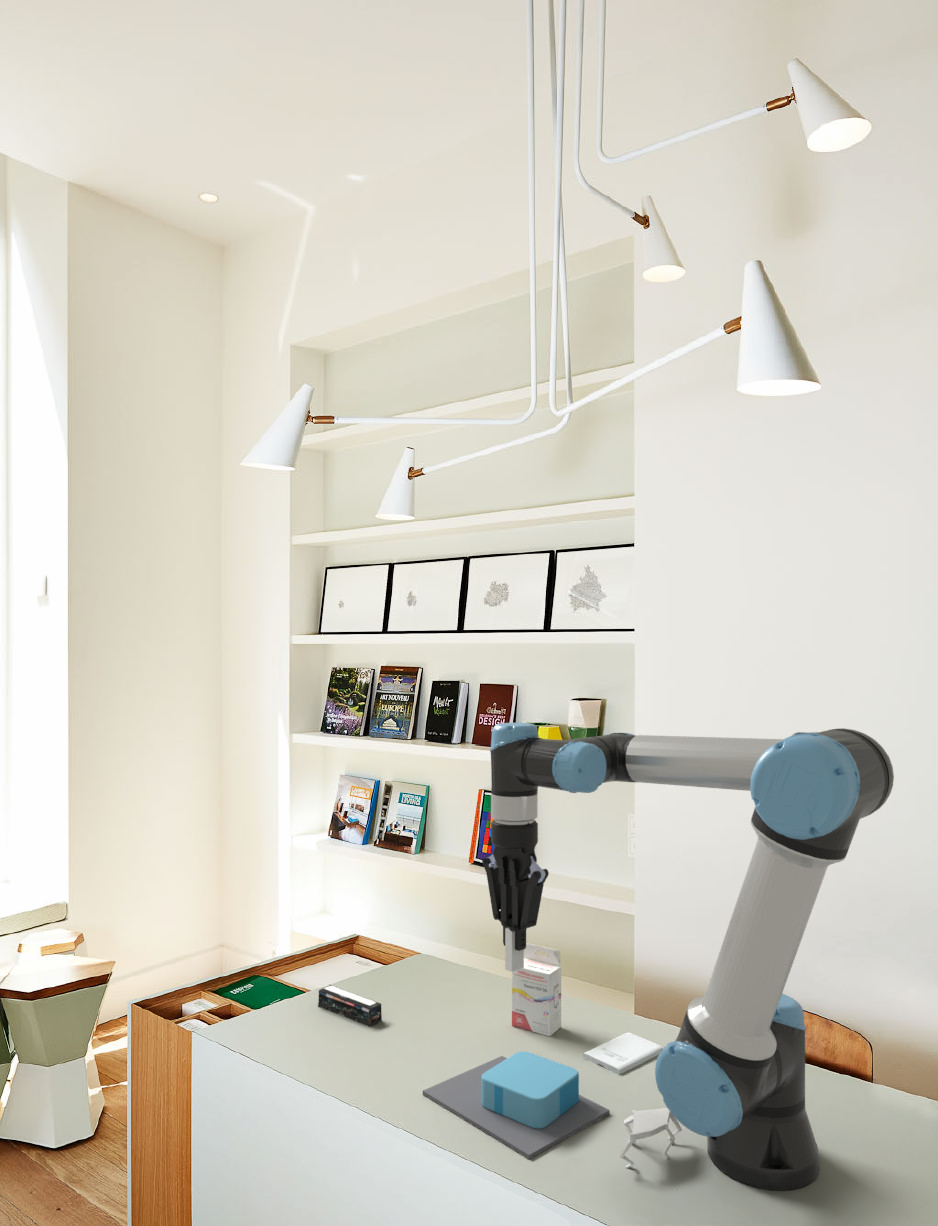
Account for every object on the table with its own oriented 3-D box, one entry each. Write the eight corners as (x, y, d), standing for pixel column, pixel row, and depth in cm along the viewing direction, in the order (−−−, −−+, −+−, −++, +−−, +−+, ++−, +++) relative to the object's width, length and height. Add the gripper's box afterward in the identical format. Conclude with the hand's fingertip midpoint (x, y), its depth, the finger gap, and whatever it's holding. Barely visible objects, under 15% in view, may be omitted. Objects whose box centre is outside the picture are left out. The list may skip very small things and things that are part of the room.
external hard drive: (663, 1055, 158) (619, 1077, 150) (627, 1040, 164) (582, 1060, 156) (663, 1046, 158) (619, 1068, 150) (627, 1031, 164) (582, 1051, 156)
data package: (477, 1105, 138) (540, 1131, 131) (477, 1076, 139) (540, 1101, 131) (521, 1075, 148) (582, 1099, 140) (521, 1048, 148) (582, 1070, 140)
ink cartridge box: (510, 1026, 168) (510, 948, 169) (523, 1017, 172) (523, 941, 173) (550, 1037, 164) (550, 957, 164) (562, 1027, 168) (562, 949, 168)
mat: (609, 1113, 137) (609, 1109, 137) (529, 1158, 125) (529, 1154, 125) (502, 1059, 155) (502, 1055, 155) (422, 1094, 143) (422, 1090, 143)
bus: (337, 993, 185) (337, 973, 186) (425, 1026, 170) (425, 1004, 170) (282, 1016, 174) (282, 994, 174) (371, 1053, 158) (371, 1029, 158)
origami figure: (630, 1127, 134) (630, 1094, 134) (685, 1142, 129) (684, 1108, 130) (602, 1168, 123) (602, 1132, 123) (660, 1186, 119) (660, 1149, 119)
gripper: (560, 822, 139) (560, 973, 138) (502, 811, 149) (502, 952, 148) (527, 829, 134) (527, 986, 133) (469, 816, 144) (469, 963, 143)
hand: (514, 968), depth 141 cm, fingers closed
